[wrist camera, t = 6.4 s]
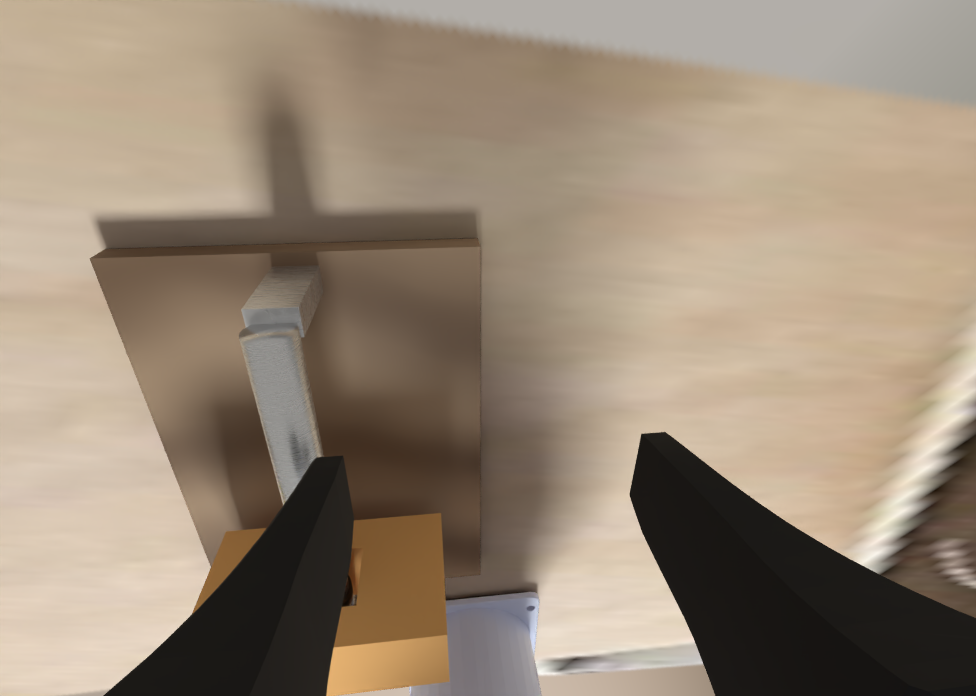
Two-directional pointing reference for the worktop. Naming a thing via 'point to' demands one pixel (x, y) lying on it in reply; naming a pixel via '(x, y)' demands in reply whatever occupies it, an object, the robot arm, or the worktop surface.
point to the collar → (378, 603)
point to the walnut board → (315, 377)
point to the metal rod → (285, 373)
